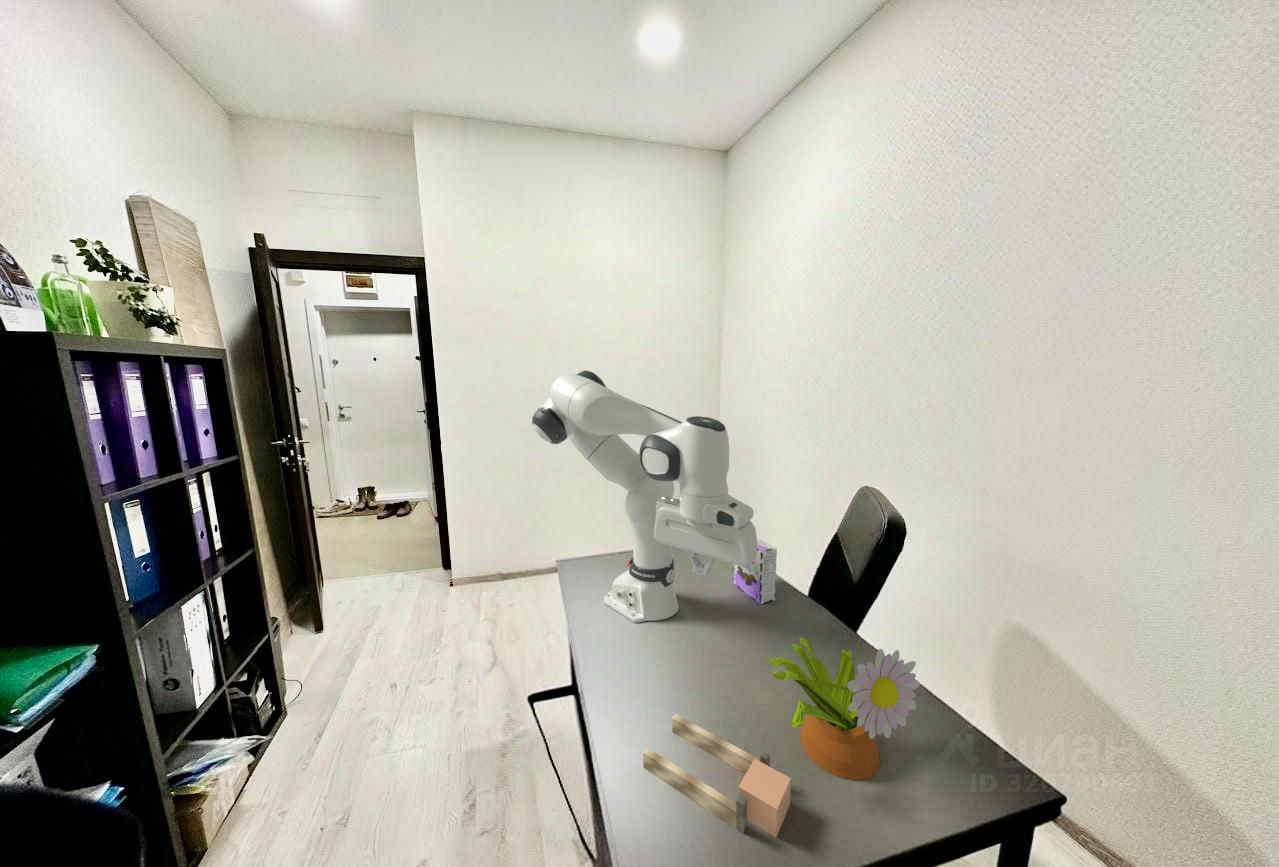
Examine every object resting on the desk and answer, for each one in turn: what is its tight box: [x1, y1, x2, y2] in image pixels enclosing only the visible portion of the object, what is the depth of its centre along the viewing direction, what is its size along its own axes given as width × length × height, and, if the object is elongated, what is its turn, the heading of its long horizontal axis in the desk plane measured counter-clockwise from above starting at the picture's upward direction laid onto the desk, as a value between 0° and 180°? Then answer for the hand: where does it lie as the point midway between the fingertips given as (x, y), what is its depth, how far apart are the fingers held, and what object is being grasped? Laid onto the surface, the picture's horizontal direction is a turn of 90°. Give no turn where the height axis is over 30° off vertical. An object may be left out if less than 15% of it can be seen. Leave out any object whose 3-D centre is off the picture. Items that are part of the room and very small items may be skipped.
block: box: [738, 759, 792, 838], centre depth 69 cm, size 6×6×5 cm
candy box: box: [732, 537, 778, 605], centre depth 132 cm, size 14×6×16 cm, turn 23°
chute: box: [642, 713, 771, 834], centre depth 75 cm, size 19×10×5 cm, turn 53°
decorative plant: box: [765, 637, 921, 781], centre depth 79 cm, size 27×24×25 cm
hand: (701, 574), depth 84 cm, fingers closed
